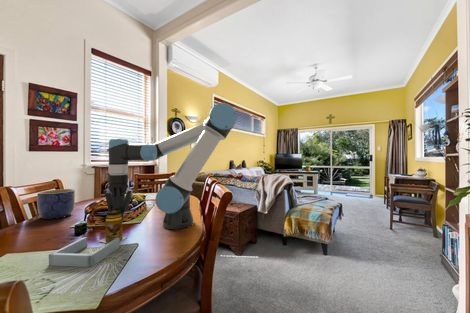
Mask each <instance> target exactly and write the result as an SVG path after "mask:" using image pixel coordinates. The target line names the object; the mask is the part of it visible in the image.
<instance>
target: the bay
mask: <svg viewBox="0 0 470 313" xmlns="http://www.w3.org/2000/svg"><path fill="white" fill-rule="evenodd" d="M120 242H121V241H120V238H116V239H114V240H112V241H111V242H109V243H108V244H107V243H105V244H104V245H103V246H101V247H100V248H99V247H98V249H96V250H95V251H93V252H92V253H78V252H79V251H81V250H83V249H85V248H87V246H88V237H87V236H86V237H85V236H84V237H82V238H80V239H77V240H75V241H73V242H72V243H69V244H68V245H65V246H63V247H61V248H60V249H57V250H55V251H52V253H49V254H48V266H51V267H52V266H53V267H54V266H57V267H84V268H86V267H87V268H92V267H94V266H95V265H96V264H98V263H99V262H101V261H102V260H103V259H105V258H106V257H108V256H109V255H111V254H112V253H113V252H115V251H116V250H118V249H119V248H120V246H121V245H120Z"/></svg>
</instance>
